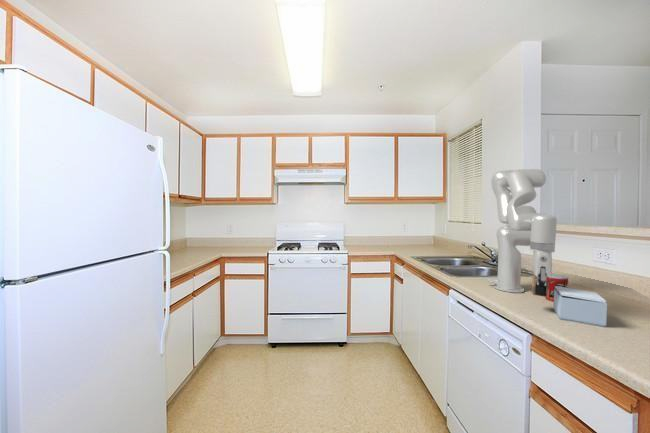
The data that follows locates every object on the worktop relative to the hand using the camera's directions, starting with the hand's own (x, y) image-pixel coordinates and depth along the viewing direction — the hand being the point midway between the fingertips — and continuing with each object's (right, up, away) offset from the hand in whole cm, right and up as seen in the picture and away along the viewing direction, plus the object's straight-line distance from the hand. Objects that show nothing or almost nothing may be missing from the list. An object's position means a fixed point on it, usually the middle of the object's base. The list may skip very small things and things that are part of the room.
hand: (539, 292), depth 106 cm
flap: (+10, +1, -6) cm, 11 cm away
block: (0, -1, 0) cm, 1 cm away
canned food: (+18, -7, +13) cm, 24 cm away
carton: (+9, -8, -6) cm, 14 cm away
